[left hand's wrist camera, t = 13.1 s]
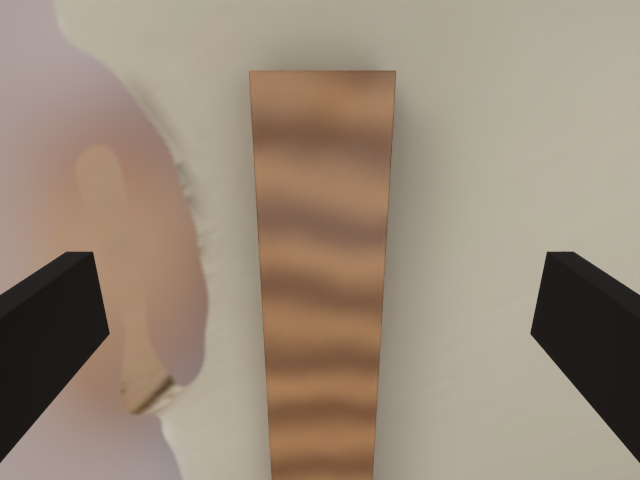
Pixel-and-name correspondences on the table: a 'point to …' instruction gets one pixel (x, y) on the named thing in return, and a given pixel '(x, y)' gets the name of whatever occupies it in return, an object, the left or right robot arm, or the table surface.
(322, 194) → the wide beam
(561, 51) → the table surface
